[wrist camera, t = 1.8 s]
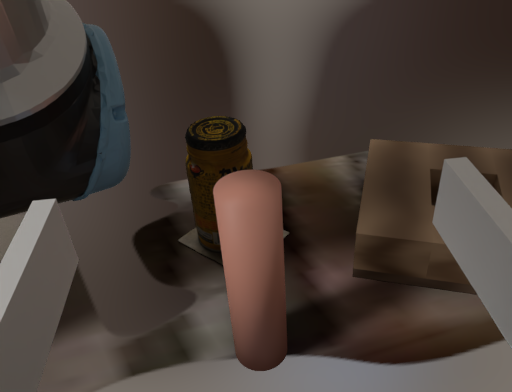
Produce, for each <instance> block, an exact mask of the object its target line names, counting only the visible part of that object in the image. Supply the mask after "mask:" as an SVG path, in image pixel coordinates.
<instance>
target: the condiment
mask: <svg viewBox="0 0 512 392" xmlns="http://www.w3.org/2000/svg"><path fill="white" fill-rule="evenodd" d="M185 138H186V143H187V152H188V156H187V158H186V170H187V177H188V182H189V188H190V194H191V200H192V205H193V212H194V218H195V225H196V228H194V229H193V230H191V231H190V232H188V233H187V234H185V235H184V236H183V237H181V238H180V239H179V240H178V241H180V242H181V243H183V244H185V245H187V246H188V247H190V248H192V249H194V250H195V251H197V252H199V253H201V254H203V255H205V256H207V257H209V258H211V259H214V260H216V261H217V262H219V263H221V264H223V259H222V252H221V245H220V237H219V230H218V223H217V216H216V209H215V202H214V195H213V189H214V186H215V184H216V183H217V182H218V181H219V180H220V179H221V178H222V177H224V176H226V175H228V174H230V173H233V172H236V171H241V170H253V166H252V155H251V152H250V150H249V149H248V148H247V140H246V128H245V126H244V125H243V124H242V123H241V122H240V121H239V120H237V119H235V118H231V117H226V116H214V117H207V118H204V119H200V120H198V121H196V122H194V123H193V124H191V125H190V127H189V128H188V129H187V132H186V137H185ZM288 234H289V232H287V231H285V230H283V238H284V237H286V236H287V235H288Z"/></svg>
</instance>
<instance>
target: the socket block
mask: <svg viewBox="0 0 512 392" xmlns="http://www.w3.org/2000/svg"><path fill="white" fill-rule="evenodd" d="M461 157H467V158H468V159H469V161H470V162H471V163H472V164H473V165H474V166H475V167H476V169H477V170H478V171H479V172H480V173H481V174H482V175H483V176H484V178H485V179H486V180H487V181H488V182H489V183H490V184H491V186H492V187H493V188H494V189H495V190H496V191H497V192H498V193H499V195H500V196H501V197H502V198H503V199H504V200H505V201H506V202H507V204H508V205H509V206H510V207H511V208H512V149H498V148H484V147H471V146H457V145H456V146H455V145H443V144H430V143H416V142H403V141H388V140H375V139H371V141H370V147H369V153H368V160H367V166H366V172H365V179H364V185H363V192H362V198H361V205H360V211H359V218H358V224H357V231H356V241H355V253H354V266H353V277H359V278H366V279H373V280H380V281H387V282H394V283H401V284H408V285H415V286H421V287H428V288H435V289H442V290H449V291H456V292H463V293H470V294H477V293H476V292H475V290H474V288H473V287H472V285H471V284H470V282H469V280H468V279H467V277H466V276H465V274H464V272H463V271H462V269H461V268H460V266H459V264H458V263H457V261H456V260H455V258H454V256H453V255H452V253H451V252H450V250H449V248H448V247H447V245H446V244H445V242H444V241H443V239H442V237H441V236H440V234H439V233H438V231H437V229H436V228H435V226H434V225H433V223H432V221H433V216H434V211H435V205H436V200H437V195H438V190H439V184H440V179H441V174H442V168H443V163H444V159H451V158H461Z"/></svg>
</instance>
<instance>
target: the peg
mask: <svg viewBox="0 0 512 392" xmlns="http://www.w3.org/2000/svg"><path fill="white" fill-rule="evenodd" d="M213 195H214V202H215V209H216V216H217V223H218V230H219V237H220V245H221V252H222V259H223V266H224V273H225V280H226V287H227V295H228V302H229V309H230V316H231V323H232V330H233V337H234V345H235V352H236V356H237V358H238V360H239V361H240V363H241V364H242V365H244V366H245V367H247V368H248V369H251V370H255V371H266V370H270V369H272V368H275V367H276V366H278V365H279V364H280V363H281V362H282V361H283V360H284V358H285V356H286V354H287V324H286V297H285V270H284V243H283V216H282V189H281V183H280V181H279V180H278V179H277V177H275V176H274V175H272V174H270V173H268V172H265V171H260V170H241V171H236V172H233V173H230V174H228V175H226V176H224V177H222V178H221V179H220V180H219V181H218V182H217V183H216V184H215V186H214V189H213Z"/></svg>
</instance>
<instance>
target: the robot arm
mask: <svg viewBox="0 0 512 392" xmlns="http://www.w3.org/2000/svg"><path fill="white" fill-rule="evenodd" d="M130 150H131V149H130V130H129V123H128V118H127V115H126V112H125V98H124V90H123V85H122V81H121V77H120V73H119V69H118V65H117V61H116V58H115V55H114V52H113V49H112V47H111V45H110V42H109V40H108V38H107V35H106V34H105V32H104V31H103V30H102V29H101V28H100V27H98V26H95V25H91V24H84V23H82V21H81V19H80V17H79V16H78V14H77V13H76V11H75V10H74V9H73V7H72V6H71V5H70V3H68V2H67V1H66V0H0V218H4V217H7V216H11V215H15V214H18V213H22V212H26V211H27V213H26V215H25V217H24V219H23V221H22V223H21V224H20V226H19V228H18V230H17V232H16V234H15V236H14V238H13V240H12V242H11V244H10V246H9V248H8V250H7V252H6V253H5V255H4V257H3V259H2V261H1V263H0V392H37V389H38V386H39V383H40V380H41V377H42V374H43V370H44V367H45V364H46V361H47V358H48V355H49V352H50V349H51V346H52V343H53V339H54V336H55V333H56V330H57V327H58V324H59V321H60V318H61V315H62V312H63V308H64V305H65V302H66V299H67V296H68V293H69V290H70V287H71V284H72V280H73V277H74V274H75V271H76V268H77V265H78V262H79V258H78V255H77V253H76V250H75V247H74V245H73V242H72V239H71V237H70V234H69V232H68V229H67V226H66V224H65V222H64V218H63V216H62V213H61V210H60V208H59V205H58V203H62V202H66V201H70V200H73V201H77V200H81V199H84V198H86V197H87V196H88V195H89V194H92V193H95V192H99V191H102V190H105V189H108V188H111V187H114V186H116V185H117V184H119V183H120V182H121V181H122V180H123V179H124V177H125V176H126V174H127V171H128V169H129V164H130ZM432 223H433V225H434V226H435V228H436V229H437V231H438V233H439V234H440V236H441V237H442V239H443V241H444V242H445V244H446V245H447V247H448V248H449V250H450V252H451V253H452V255H453V256H454V258H455V260H456V261H457V263H458V264H459V266H460V268H461V269H462V271H463V272H464V274H465V276H466V277H467V279H468V280H469V282H470V284H471V285H472V287H473V288H474V290H475V292H476V293H477V295H478V296H479V298H480V299H481V301H482V303H483V304H484V306H485V307H486V309H487V311H488V312H489V314H490V315H491V317H492V319H493V320H494V322H495V323H496V325H497V327H498V328H499V330H500V331H501V333H502V335H503V336H504V338H505V339H506V341H507V343H508V344H509V346H510V347H511V349H512V208H511V207H510V206H509V205H508V204H507V202H506V201H505V200H504V199H503V198H502V197H501V196H500V195H499V193H498V192H497V191H496V190H495V189H494V188H493V187H492V186H491V184H490V183H489V182H488V181H487V180H486V179H485V178H484V176H483V175H482V174H481V173H480V172H479V171H478V170H477V169H476V167H475V166H474V165H473V164H472V163H471V162H470V161H469V159H468V158H467V157H461V158H451V159H444V163H443V168H442V174H441V179H440V184H439V190H438V195H437V200H436V205H435V211H434V216H433V221H432Z"/></svg>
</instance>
